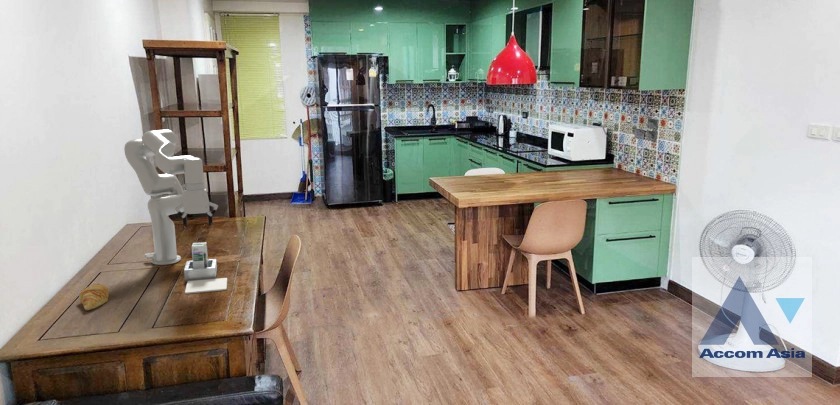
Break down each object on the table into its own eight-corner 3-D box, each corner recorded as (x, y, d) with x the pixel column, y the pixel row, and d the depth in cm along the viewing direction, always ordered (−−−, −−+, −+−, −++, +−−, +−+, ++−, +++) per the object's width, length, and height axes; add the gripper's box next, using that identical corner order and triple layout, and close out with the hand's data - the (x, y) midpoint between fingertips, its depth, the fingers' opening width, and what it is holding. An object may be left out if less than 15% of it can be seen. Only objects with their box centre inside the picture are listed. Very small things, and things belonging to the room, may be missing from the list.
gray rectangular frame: (185, 281, 240) (184, 270, 239) (188, 266, 258) (188, 256, 257) (215, 278, 244) (215, 267, 243) (217, 264, 261) (216, 254, 260)
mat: (184, 293, 227) (184, 292, 227) (187, 282, 239) (187, 281, 239) (226, 290, 232) (226, 288, 231) (227, 279, 244) (227, 277, 243)
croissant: (97, 320, 210) (106, 302, 209) (69, 311, 206) (78, 292, 206) (109, 297, 230) (118, 280, 229) (83, 289, 226) (92, 272, 225)
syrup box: (193, 277, 244) (191, 246, 241) (195, 273, 250) (193, 242, 247) (207, 277, 246) (205, 245, 242) (209, 272, 251) (206, 241, 248)
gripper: (172, 189, 233) (175, 229, 236) (216, 187, 238) (219, 226, 241) (174, 186, 240) (177, 224, 243) (216, 184, 245) (219, 221, 248)
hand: (198, 225), depth 242 cm, fingers open, 9 cm apart
